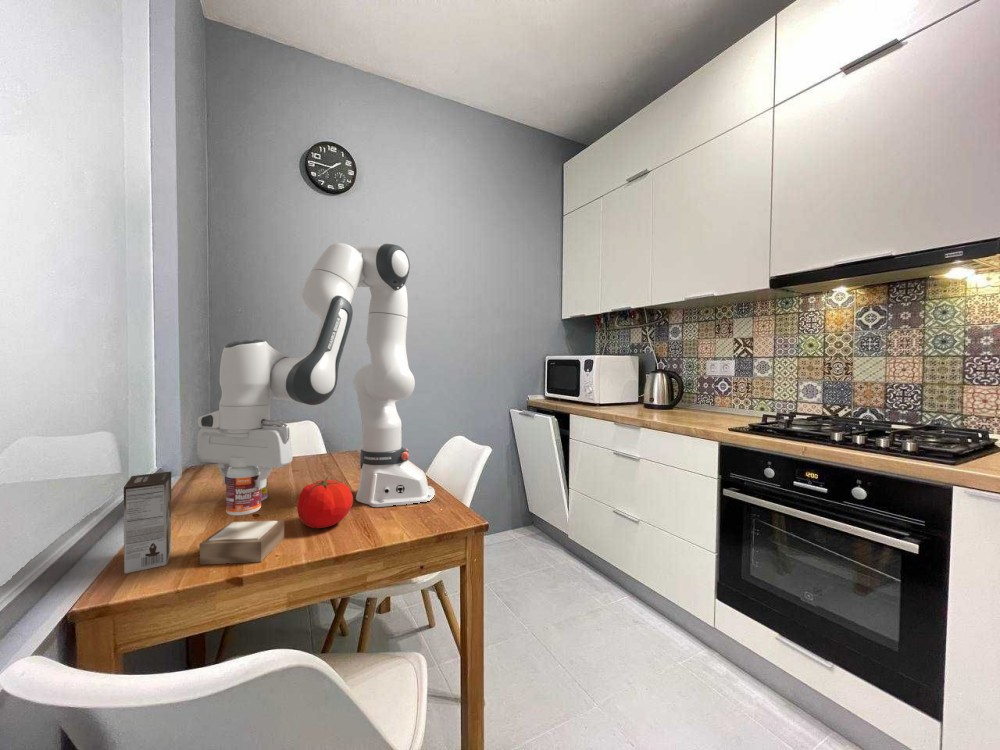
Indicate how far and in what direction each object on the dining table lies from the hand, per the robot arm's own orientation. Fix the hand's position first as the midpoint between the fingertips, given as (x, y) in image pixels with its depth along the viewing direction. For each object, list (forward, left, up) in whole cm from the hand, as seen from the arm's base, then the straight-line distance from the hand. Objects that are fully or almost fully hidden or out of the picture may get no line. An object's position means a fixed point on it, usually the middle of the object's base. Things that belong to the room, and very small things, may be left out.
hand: (244, 486), depth 84 cm
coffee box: (+16, +3, -14) cm, 21 cm away
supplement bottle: (+13, -33, -14) cm, 38 cm away
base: (0, 0, -13) cm, 13 cm away
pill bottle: (0, 0, -5) cm, 5 cm away
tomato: (-12, -13, -14) cm, 22 cm away
